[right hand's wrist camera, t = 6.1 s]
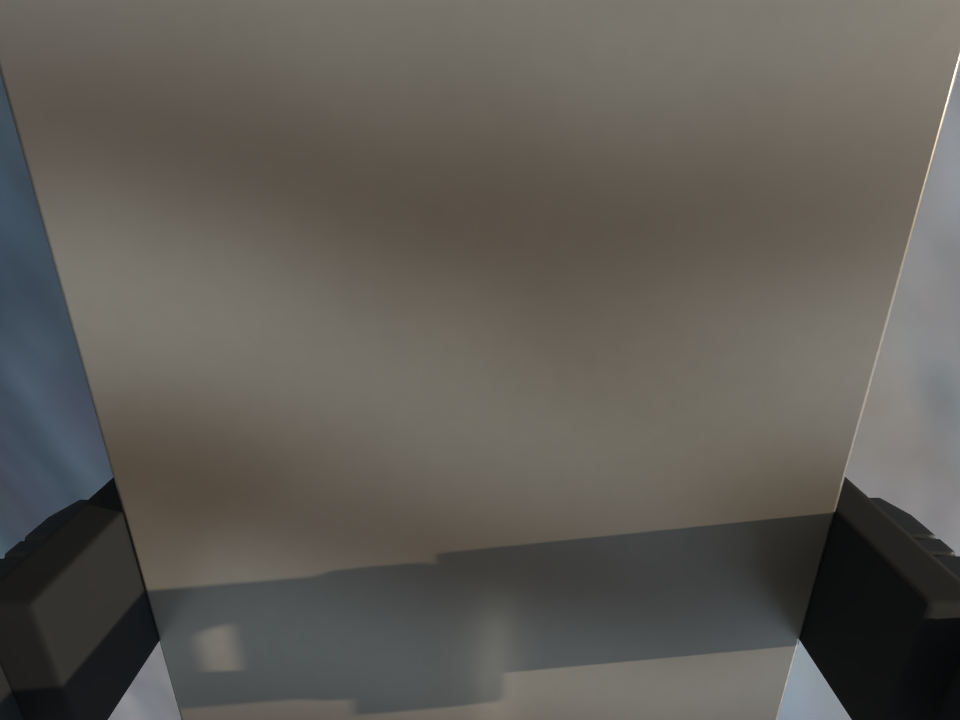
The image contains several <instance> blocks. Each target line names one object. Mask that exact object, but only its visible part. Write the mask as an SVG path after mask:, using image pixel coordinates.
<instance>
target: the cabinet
mask: <svg viewBox="0 0 960 720" xmlns="http://www.w3.org/2000/svg"><path fill="white" fill-rule="evenodd" d="M959 64H960V0H0V73H1V77H2V80H3V84H4V87H5V91H6V94H7V98H8V102H9V105H10V109H11V112H12V116H13V119H14V123H15V127H16V130H17V134H18V137H19V141H20V144H21V148H22V152H23V155H24V159H25V162H26V166H27V169H28V173H29V177H30V180H31V184H32V187H33V191H34V194H35V198H36V202H37V205H38V209H39V212H40V216H41V219H42V223H43V227H44V230H45V234H46V237H47V241H48V244H49V248H50V252H51V255H52V259H53V262H54V266H55V269H56V273H57V277H58V280H59V284H60V287H61V291H62V294H63V298H64V301H65V305H66V309H67V312H68V316H69V319H70V323H71V326H72V330H73V334H74V337H75V341H76V344H77V348H78V351H79V355H80V359H81V362H82V366H83V369H84V373H85V376H86V380H87V384H88V387H89V391H90V394H91V398H92V401H93V405H94V409H95V412H96V416H97V419H98V423H99V426H100V430H101V434H102V437H103V441H104V444H105V448H106V451H107V455H108V459H109V462H110V466H111V469H112V473H113V476H114V480H115V484H116V487H117V491H118V494H119V498H120V501H121V505H122V508H123V512H124V516H125V519H126V523H127V526H128V530H129V533H130V537H131V541H132V544H133V548H134V551H135V555H136V558H137V562H138V566H139V569H140V573H141V576H142V580H143V583H144V587H145V591H146V594H147V598H148V601H149V605H150V608H151V612H152V616H153V619H154V623H155V626H156V630H157V633H158V637H159V641H160V644H161V648H162V651H163V655H164V658H165V662H166V666H167V669H168V673H169V676H170V680H171V683H172V687H173V691H174V694H175V698H176V701H177V705H178V708H179V712H180V715H181V719H182V720H777V719H778V716H779V712H780V708H781V705H782V701H783V698H784V694H785V690H786V687H787V683H788V680H789V676H790V672H791V669H792V665H793V662H794V658H795V654H796V651H797V647H798V644H799V640H800V636H801V633H802V629H803V626H804V622H805V618H806V615H807V611H808V608H809V604H810V600H811V597H812V593H813V590H814V586H815V582H816V579H817V575H818V572H819V568H820V564H821V561H822V557H823V554H824V550H825V547H826V543H827V539H828V536H829V532H830V529H831V525H832V521H833V518H834V514H835V511H836V507H837V503H838V500H839V496H840V493H841V489H842V485H843V482H844V478H845V475H846V471H847V467H848V464H849V460H850V457H851V453H852V449H853V446H854V442H855V439H856V435H857V431H858V428H859V424H860V421H861V417H862V413H863V410H864V406H865V403H866V399H867V395H868V392H869V388H870V385H871V381H872V377H873V374H874V370H875V367H876V363H877V359H878V356H879V352H880V349H881V345H882V341H883V338H884V334H885V331H886V327H887V323H888V320H889V316H890V313H891V309H892V305H893V302H894V298H895V295H896V291H897V288H898V284H899V280H900V277H901V273H902V270H903V266H904V262H905V259H906V255H907V252H908V248H909V244H910V241H911V237H912V234H913V230H914V226H915V223H916V219H917V216H918V212H919V208H920V205H921V201H922V198H923V194H924V190H925V187H926V183H927V180H928V176H929V172H930V169H931V165H932V162H933V158H934V154H935V151H936V147H937V144H938V140H939V136H940V133H941V129H942V126H943V122H944V118H945V115H946V111H947V108H948V104H949V100H950V97H951V93H952V90H953V86H954V82H955V79H956V75H957V72H958V68H959Z"/></svg>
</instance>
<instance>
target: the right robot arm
mask: <svg viewBox="0 0 960 720" xmlns="http://www.w3.org/2000/svg"><path fill="white" fill-rule="evenodd" d="M800 641H801V643H802V644H803V646H804V647H805V649H806V650H807V652H808V653H809V655H810V656H811V658H812V659H813V661H814V663H815V664H816V666H817V667H818V669H819V670H820V672H821V673H822V675H823V676H824V678H825V679H826V681H827V682H828V684H829V685H830V687H831V688H832V690H833V692H834V693H835V695H836V696H837V698H838V699H839V701H840V702H841V704H842V705H843V707H844V708H845V710H846V711H847V713H848V714H849V716H850V717H851V719H852V720H960V557H956V556H955V552H954V551H953V550H952V549H951V548H949V547H948V546H947V545H946V544H945V543H943V542H942V541H941V540H940V539H935V535H934V534H933V533H932V532H930V531H929V530H928V529H927V528H926V527H925V526H923V525H922V524H921V523H920V522H919V521H917V520H916V519H915V518H914V517H913V516H911V515H910V514H908V513H906V512H904V511H903V510H901V509H899V508H897V507H895V506H893V505H892V504H890V503H888V502H886V501H884V500H883V499H881V498H868V497H867V496H866V495H865V494H864V493H863V492H862V491H860V490H859V489H858V488H857V487H856V486H855V485H854V484H853V483H851V482H850V481H849V480H848V479H847V478H846V477H845V478H844V482H843V485H842V489H841V493H840V496H839V500H838V503H837V507H836V511H835V514H834V518H833V521H832V525H831V529H830V532H829V536H828V539H827V543H826V547H825V550H824V554H823V557H822V561H821V564H820V568H819V572H818V575H817V579H816V582H815V586H814V590H813V593H812V597H811V600H810V604H809V608H808V611H807V615H806V618H805V622H804V626H803V629H802V633H801V636H800ZM158 642H159V637H158V633H157V630H156V626H155V623H154V619H153V616H152V612H151V608H150V605H149V601H148V598H147V594H146V591H145V587H144V583H143V580H142V576H141V573H140V569H139V566H138V562H137V558H136V555H135V551H134V548H133V544H132V541H131V537H130V533H129V530H128V526H127V523H126V519H125V516H124V512H123V508H122V505H121V501H120V498H119V494H118V491H117V487H116V484H115V480H114V478H112V479H111V480H110V481H109V482H108V483H107V484H106V485H105V486H103V487H102V488H101V489H100V490H99V491H98V492H97V493H96V494H94V495H93V496H92V497H91V498H90V499H89V500H79V501H77V502H75V503H74V504H72V505H70V506H68V507H66V508H65V509H63V510H61V511H59V512H57V513H55V514H54V515H52V516H50V517H48V518H47V519H46V520H45V521H44V522H43V523H41V524H40V525H39V526H38V527H37V528H35V529H34V530H33V531H32V532H31V533H30V534H28V535H27V536H26V537H25V541H20V542H19V543H18V544H17V545H15V546H14V547H13V548H12V549H11V550H10V551H8V552H7V553H6V554H5V558H4V559H0V720H108V718H109V717H110V715H111V714H112V712H113V710H114V709H115V707H116V706H117V704H118V703H119V701H120V700H121V698H122V697H123V695H124V694H125V692H126V691H127V689H128V688H129V686H130V685H131V683H132V681H133V680H134V678H135V677H136V675H137V674H138V672H139V671H140V669H141V668H142V666H143V665H144V663H145V662H146V660H147V659H148V657H149V655H150V654H151V652H152V651H153V649H154V648H155V646H156V645H157V643H158Z"/></svg>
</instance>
